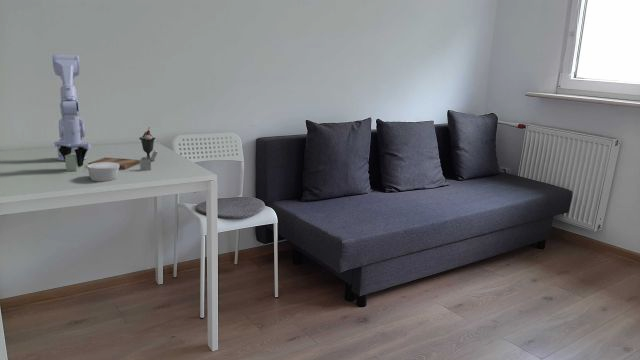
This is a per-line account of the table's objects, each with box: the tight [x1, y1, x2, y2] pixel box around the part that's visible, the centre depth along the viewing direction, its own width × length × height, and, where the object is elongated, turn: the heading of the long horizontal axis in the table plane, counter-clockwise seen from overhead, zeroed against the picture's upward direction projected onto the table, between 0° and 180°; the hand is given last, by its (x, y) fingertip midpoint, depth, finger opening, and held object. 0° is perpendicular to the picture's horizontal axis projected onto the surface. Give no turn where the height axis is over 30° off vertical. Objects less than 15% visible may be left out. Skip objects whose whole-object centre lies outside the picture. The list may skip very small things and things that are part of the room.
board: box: [87, 157, 140, 170], centre depth 210 cm, size 16×12×2 cm
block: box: [64, 153, 85, 172], centre depth 199 cm, size 4×4×6 cm
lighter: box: [139, 149, 159, 171], centre depth 204 cm, size 7×2×8 cm, turn 110°
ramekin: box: [86, 162, 120, 182], centre depth 188 cm, size 11×11×5 cm
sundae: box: [138, 126, 156, 163], centre depth 219 cm, size 7×7×15 cm
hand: (74, 165), depth 200 cm, fingers closed on block, 4 cm apart
